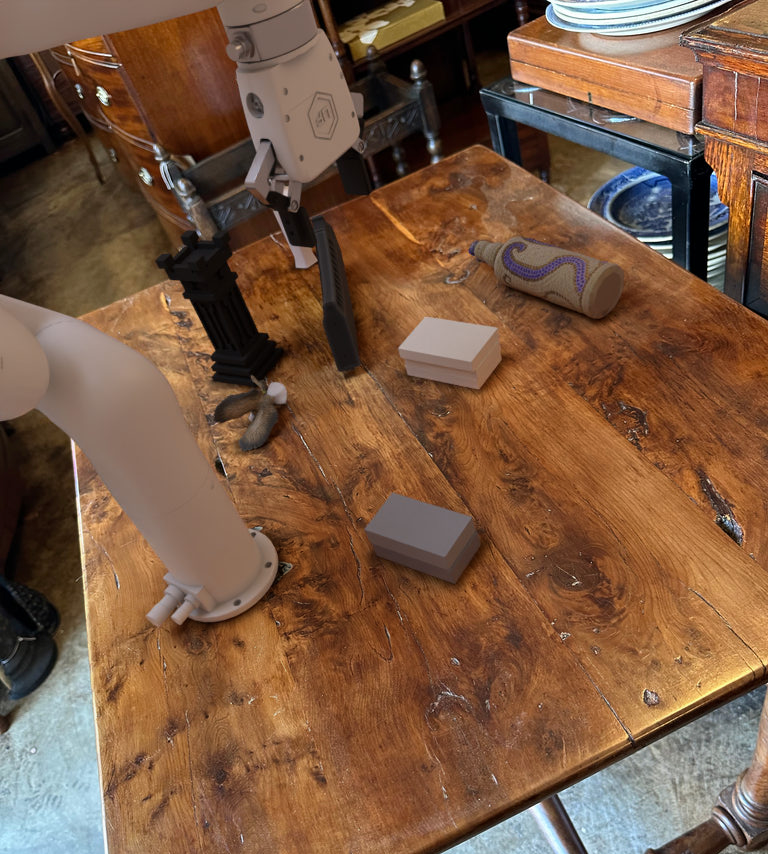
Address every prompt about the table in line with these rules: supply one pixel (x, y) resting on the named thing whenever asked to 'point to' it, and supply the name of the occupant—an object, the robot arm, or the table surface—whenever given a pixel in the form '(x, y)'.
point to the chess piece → (221, 309)
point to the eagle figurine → (253, 411)
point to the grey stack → (423, 537)
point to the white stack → (457, 370)
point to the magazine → (335, 298)
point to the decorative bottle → (554, 274)
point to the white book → (449, 343)
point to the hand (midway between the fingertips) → (332, 218)
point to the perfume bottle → (301, 254)
